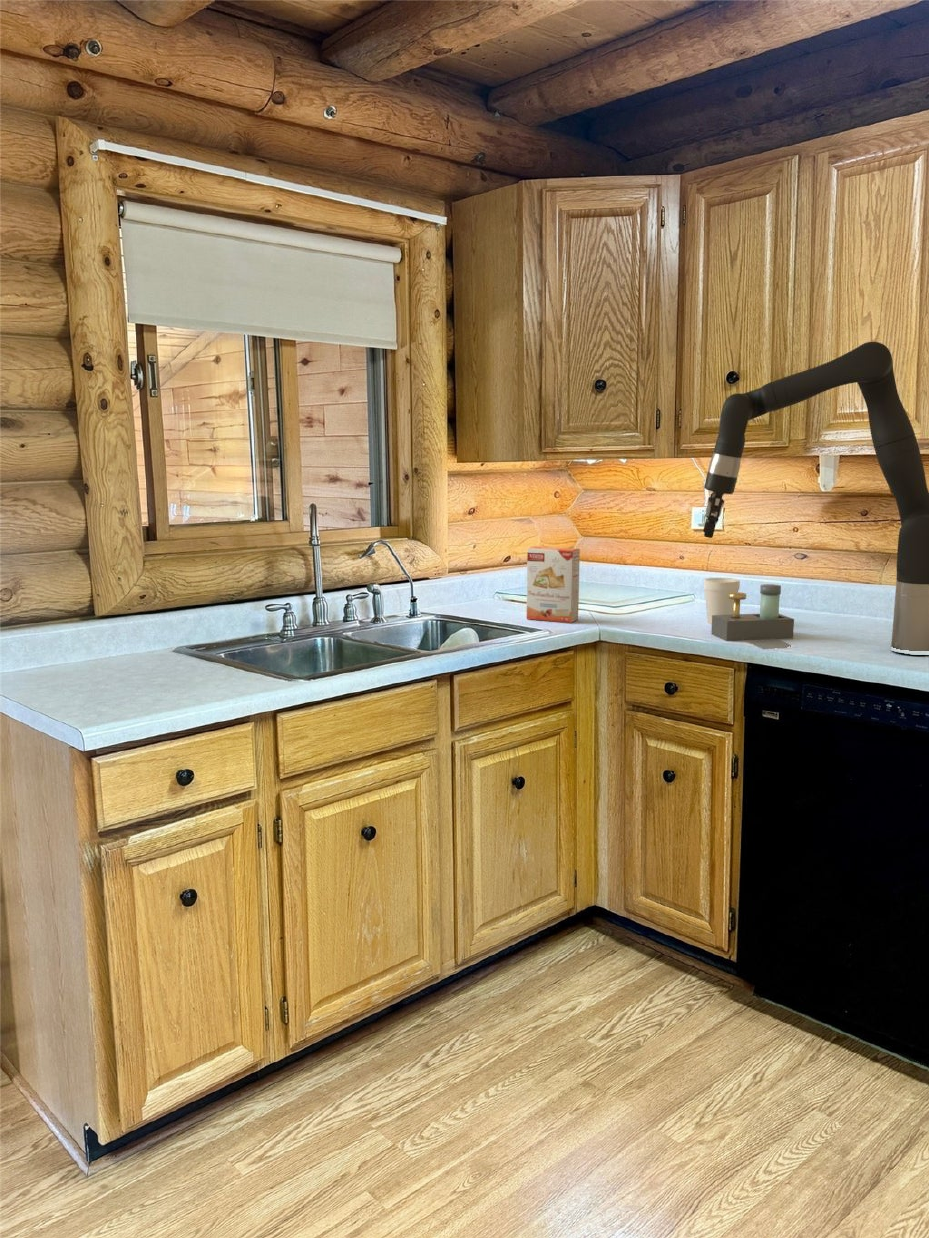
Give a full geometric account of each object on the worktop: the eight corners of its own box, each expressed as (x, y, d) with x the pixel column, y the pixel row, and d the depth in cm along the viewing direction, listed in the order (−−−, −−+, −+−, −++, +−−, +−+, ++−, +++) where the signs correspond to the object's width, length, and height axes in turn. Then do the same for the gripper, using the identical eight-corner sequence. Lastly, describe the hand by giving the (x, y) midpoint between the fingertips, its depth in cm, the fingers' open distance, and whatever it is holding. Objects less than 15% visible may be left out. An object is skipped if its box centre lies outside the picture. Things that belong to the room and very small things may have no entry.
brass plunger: (739, 627, 247) (741, 592, 246) (747, 630, 243) (749, 594, 242) (723, 627, 247) (725, 592, 245) (731, 631, 242) (733, 595, 241)
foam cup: (713, 630, 259) (715, 583, 257) (696, 624, 268) (697, 578, 266) (744, 628, 262) (746, 581, 259) (726, 622, 270) (728, 577, 268)
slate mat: (779, 644, 241) (779, 640, 241) (797, 651, 232) (797, 647, 232) (745, 645, 240) (745, 641, 240) (762, 652, 231) (762, 648, 231)
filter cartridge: (772, 633, 250) (775, 584, 247) (781, 637, 245) (784, 586, 243) (754, 634, 249) (757, 584, 247) (763, 637, 244) (766, 587, 242)
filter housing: (775, 635, 252) (776, 612, 251) (792, 642, 243) (794, 618, 242) (711, 637, 249) (712, 615, 248) (726, 644, 240) (727, 621, 239)
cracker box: (525, 619, 276) (526, 547, 272) (534, 616, 281) (534, 545, 277) (571, 624, 269) (572, 549, 265) (578, 620, 274) (580, 547, 271)
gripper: (739, 478, 236) (723, 542, 241) (736, 474, 250) (720, 534, 254) (708, 472, 238) (693, 535, 242) (707, 468, 251) (692, 528, 255)
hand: (707, 535), depth 248 cm, fingers open, 8 cm apart
